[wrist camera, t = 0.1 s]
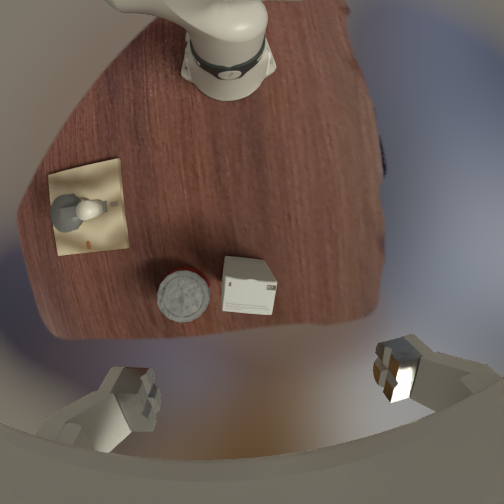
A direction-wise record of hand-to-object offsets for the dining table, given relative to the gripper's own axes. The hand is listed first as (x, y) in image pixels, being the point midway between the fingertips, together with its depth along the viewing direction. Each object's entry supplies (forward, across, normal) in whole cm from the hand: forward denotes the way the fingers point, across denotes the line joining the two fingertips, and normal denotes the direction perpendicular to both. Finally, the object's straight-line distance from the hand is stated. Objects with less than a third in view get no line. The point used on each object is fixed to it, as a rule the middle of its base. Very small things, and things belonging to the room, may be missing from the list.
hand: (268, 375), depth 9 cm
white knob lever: (+41, +29, -6) cm, 50 cm away
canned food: (+48, +12, +13) cm, 52 cm away
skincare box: (+48, 0, +10) cm, 49 cm away
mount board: (+48, +32, -6) cm, 58 cm away
